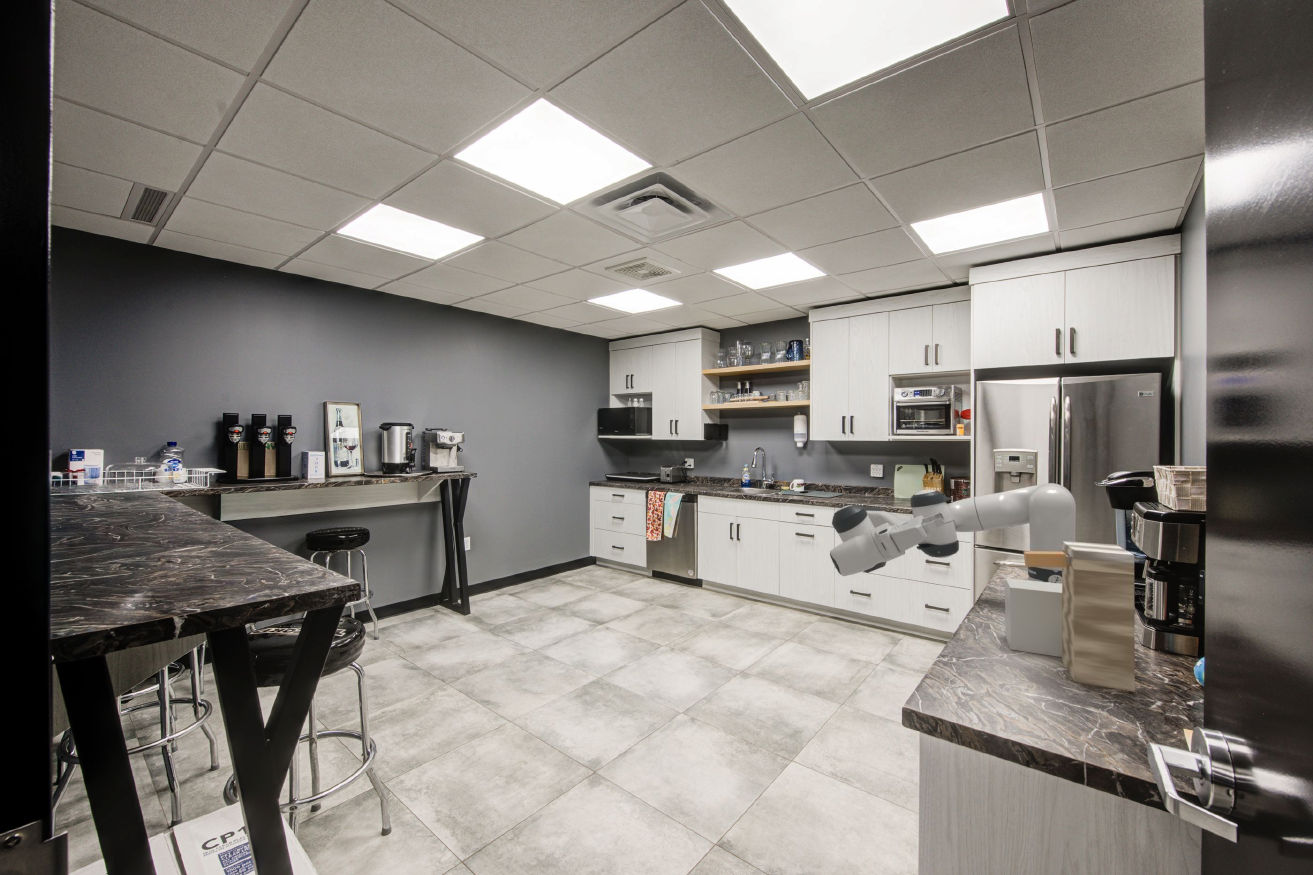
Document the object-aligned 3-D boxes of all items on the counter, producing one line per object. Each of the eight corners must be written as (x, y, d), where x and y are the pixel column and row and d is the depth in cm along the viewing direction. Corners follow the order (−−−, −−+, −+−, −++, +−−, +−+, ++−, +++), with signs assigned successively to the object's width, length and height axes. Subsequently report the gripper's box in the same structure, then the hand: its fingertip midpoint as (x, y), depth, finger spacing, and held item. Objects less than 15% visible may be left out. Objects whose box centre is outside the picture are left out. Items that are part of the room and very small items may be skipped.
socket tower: (1062, 661, 126) (1062, 541, 127) (1116, 669, 122) (1116, 544, 122) (1074, 682, 116) (1074, 550, 116) (1134, 692, 111) (1134, 554, 111)
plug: (1024, 564, 126) (1023, 551, 126) (1094, 565, 120) (1092, 552, 120) (1026, 566, 123) (1025, 553, 124) (1097, 568, 118) (1096, 554, 118)
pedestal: (1005, 636, 143) (1005, 578, 143) (1070, 645, 136) (1070, 584, 136) (1010, 649, 134) (1010, 587, 134) (1080, 659, 127) (1080, 594, 127)
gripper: (899, 544, 147) (949, 523, 141) (893, 559, 129) (950, 536, 123) (887, 523, 149) (936, 502, 143) (880, 535, 130) (935, 511, 125)
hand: (943, 517), depth 133 cm, fingers open, 8 cm apart
